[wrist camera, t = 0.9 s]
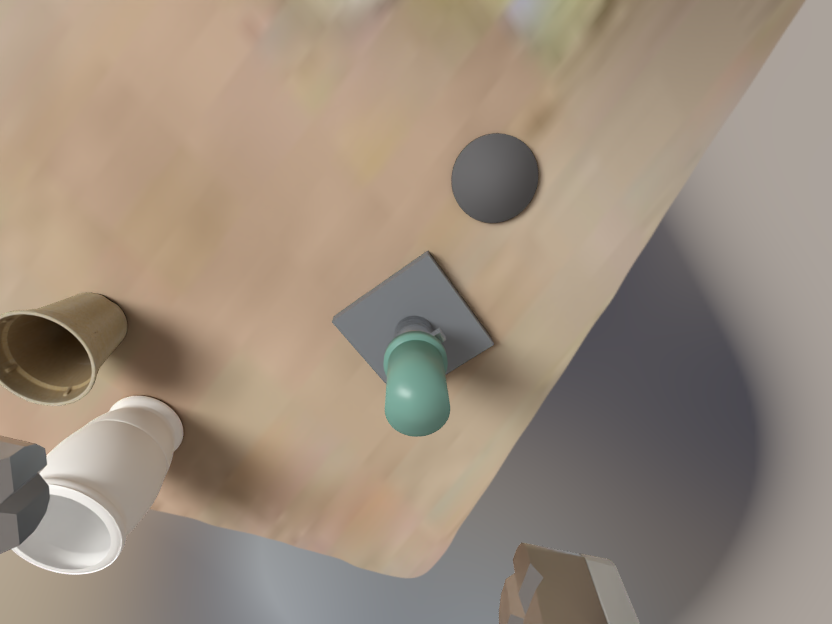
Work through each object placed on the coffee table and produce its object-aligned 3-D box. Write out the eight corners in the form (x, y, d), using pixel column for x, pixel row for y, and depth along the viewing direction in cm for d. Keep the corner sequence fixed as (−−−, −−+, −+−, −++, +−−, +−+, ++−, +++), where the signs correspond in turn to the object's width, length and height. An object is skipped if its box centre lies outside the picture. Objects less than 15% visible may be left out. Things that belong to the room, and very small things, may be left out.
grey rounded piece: (377, 335, 48) (374, 362, 43) (428, 301, 47) (431, 324, 42) (400, 363, 49) (400, 391, 44) (450, 330, 48) (456, 356, 43)
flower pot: (164, 336, 49) (118, 379, 41) (95, 373, 51) (38, 421, 43) (101, 261, 46) (38, 292, 38) (29, 303, 47) (-46, 341, 39)
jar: (86, 389, 51) (-30, 490, 38) (179, 382, 51) (96, 480, 38) (118, 465, 56) (24, 581, 42) (204, 458, 56) (137, 572, 42)
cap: (371, 353, 43) (364, 403, 35) (422, 319, 41) (426, 363, 34) (408, 396, 44) (409, 452, 37) (458, 365, 43) (469, 416, 36)
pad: (434, 168, 43) (435, 169, 43) (508, 114, 41) (509, 114, 41) (480, 237, 46) (481, 239, 45) (552, 188, 44) (553, 189, 43)
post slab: (334, 316, 49) (331, 322, 47) (427, 250, 46) (428, 254, 45) (401, 394, 53) (401, 402, 51) (491, 338, 50) (494, 344, 49)
